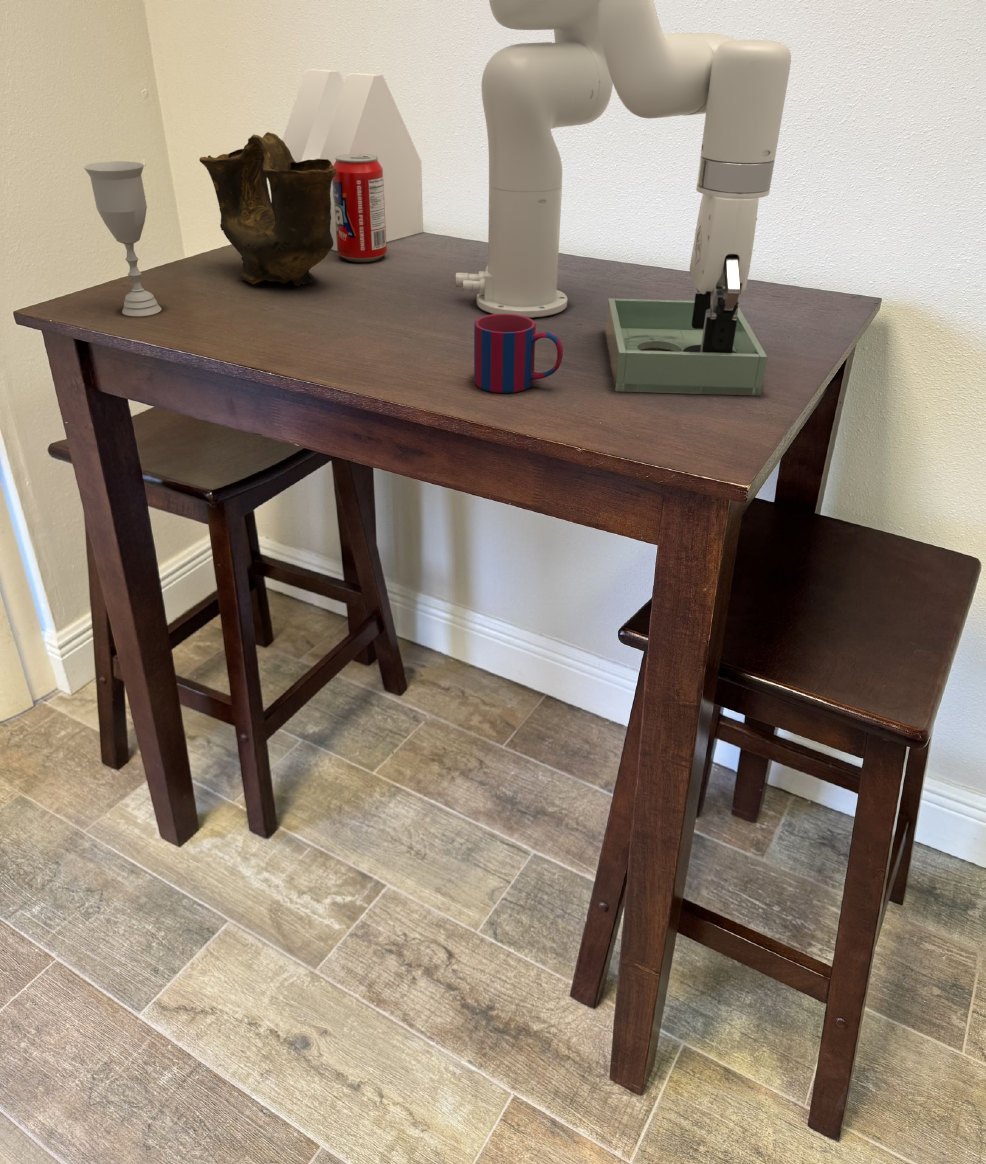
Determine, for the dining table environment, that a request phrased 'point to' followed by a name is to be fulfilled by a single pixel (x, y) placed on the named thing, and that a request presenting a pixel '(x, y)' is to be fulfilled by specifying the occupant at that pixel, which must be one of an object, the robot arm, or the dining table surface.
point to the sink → (679, 366)
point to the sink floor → (669, 341)
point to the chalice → (124, 220)
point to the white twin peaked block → (359, 139)
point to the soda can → (359, 207)
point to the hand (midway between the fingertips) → (710, 339)
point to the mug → (508, 353)
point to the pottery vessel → (274, 209)
